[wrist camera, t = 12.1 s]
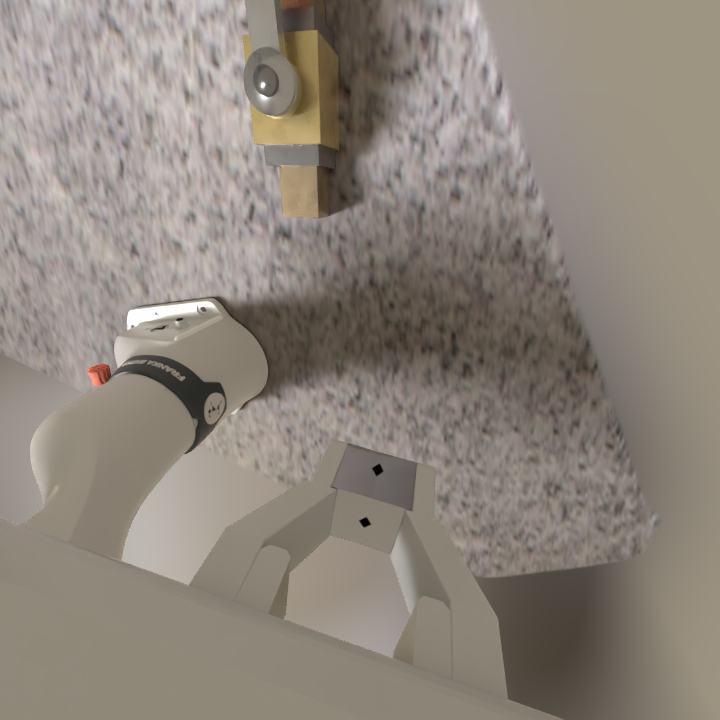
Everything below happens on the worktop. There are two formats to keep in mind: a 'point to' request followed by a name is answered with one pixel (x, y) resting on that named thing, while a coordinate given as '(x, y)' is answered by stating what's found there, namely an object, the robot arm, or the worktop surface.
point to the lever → (270, 62)
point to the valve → (304, 113)
